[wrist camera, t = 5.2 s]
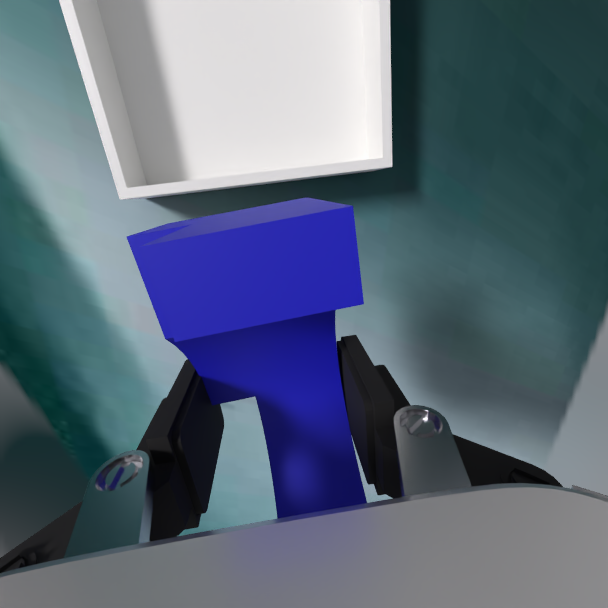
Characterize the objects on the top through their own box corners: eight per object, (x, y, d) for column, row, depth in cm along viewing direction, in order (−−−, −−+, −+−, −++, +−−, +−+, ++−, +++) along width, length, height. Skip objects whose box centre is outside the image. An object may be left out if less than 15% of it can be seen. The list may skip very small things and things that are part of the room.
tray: (57, -118, 17) (-5, -207, 13) (362, -139, 18) (386, -228, 14) (145, 198, 23) (119, 199, 19) (373, 171, 24) (392, 166, 20)
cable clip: (167, 223, 10) (29, 267, 4) (306, 197, 10) (352, 206, 4) (254, 488, 14) (244, 686, 8) (350, 467, 14) (402, 648, 9)
